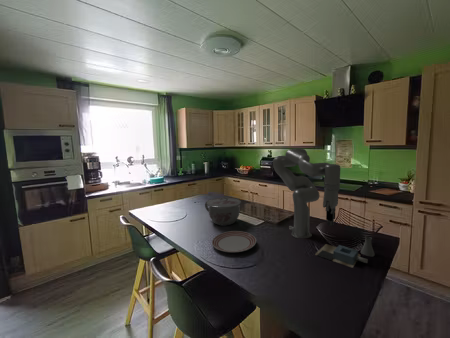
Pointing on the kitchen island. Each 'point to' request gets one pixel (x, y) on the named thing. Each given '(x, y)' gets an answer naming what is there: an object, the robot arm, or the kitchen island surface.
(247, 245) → the dinner plate
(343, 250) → the block
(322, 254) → the rubber pad
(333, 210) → the key peg
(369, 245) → the flask
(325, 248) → the bench board
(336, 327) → the kitchen island surface
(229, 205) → the chamber pot
